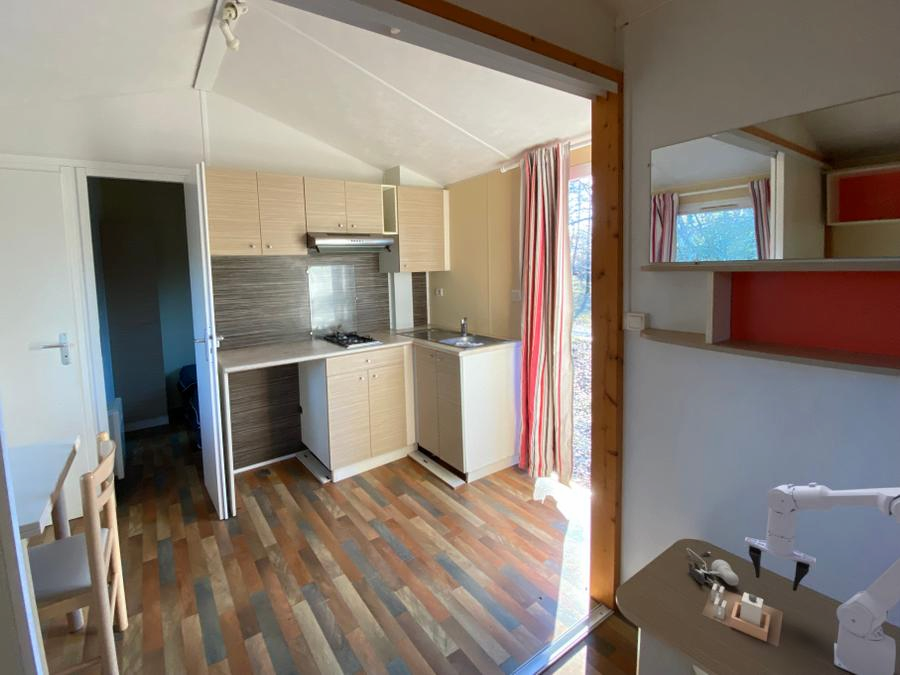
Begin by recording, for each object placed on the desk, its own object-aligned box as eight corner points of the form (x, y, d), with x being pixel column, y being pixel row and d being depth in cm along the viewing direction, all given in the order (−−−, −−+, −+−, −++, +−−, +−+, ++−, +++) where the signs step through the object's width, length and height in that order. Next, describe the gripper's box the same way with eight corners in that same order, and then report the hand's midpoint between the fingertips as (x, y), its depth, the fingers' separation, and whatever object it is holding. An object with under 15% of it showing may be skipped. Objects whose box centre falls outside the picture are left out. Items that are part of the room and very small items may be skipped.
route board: (783, 615, 117) (783, 611, 117) (777, 650, 105) (778, 646, 105) (712, 588, 127) (713, 585, 127) (701, 618, 116) (701, 614, 115)
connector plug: (760, 625, 112) (763, 595, 111) (758, 634, 109) (761, 604, 108) (742, 617, 114) (744, 588, 114) (739, 626, 111) (741, 596, 111)
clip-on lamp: (678, 565, 142) (699, 590, 125) (676, 544, 143) (696, 566, 126) (718, 566, 140) (745, 591, 123) (716, 544, 141) (742, 566, 124)
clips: (729, 601, 120) (730, 589, 120) (723, 620, 114) (724, 607, 113) (713, 594, 123) (714, 583, 122) (706, 612, 116) (707, 600, 116)
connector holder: (769, 623, 112) (770, 614, 112) (766, 641, 107) (767, 631, 106) (734, 610, 117) (735, 601, 117) (730, 626, 111) (730, 617, 111)
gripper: (817, 536, 112) (812, 586, 114) (748, 516, 121) (744, 563, 123) (817, 548, 107) (811, 601, 108) (745, 527, 116) (740, 576, 118)
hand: (775, 582), depth 115 cm, fingers open, 7 cm apart
